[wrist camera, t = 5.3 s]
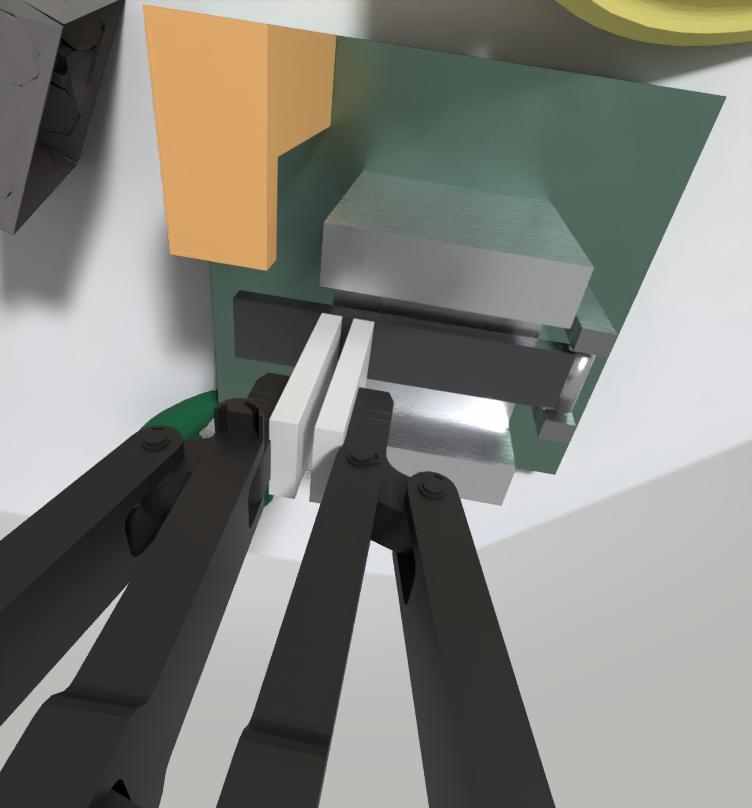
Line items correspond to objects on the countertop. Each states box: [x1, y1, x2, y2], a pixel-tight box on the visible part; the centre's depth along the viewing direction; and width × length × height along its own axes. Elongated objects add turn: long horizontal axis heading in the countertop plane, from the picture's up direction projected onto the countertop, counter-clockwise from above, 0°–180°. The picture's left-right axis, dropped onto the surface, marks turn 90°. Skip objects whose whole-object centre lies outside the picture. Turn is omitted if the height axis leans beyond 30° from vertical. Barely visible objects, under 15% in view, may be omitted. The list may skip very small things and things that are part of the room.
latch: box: [143, 5, 336, 271], centre depth 17 cm, size 3×6×9 cm, turn 172°
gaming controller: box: [139, 390, 273, 507], centre depth 33 cm, size 9×4×6 cm
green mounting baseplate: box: [210, 35, 726, 506], centre depth 22 cm, size 20×19×10 cm
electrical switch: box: [0, 0, 124, 235], centre depth 19 cm, size 9×5×9 cm, turn 145°
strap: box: [233, 290, 596, 414], centre depth 20 cm, size 14×3×1 cm, turn 82°
